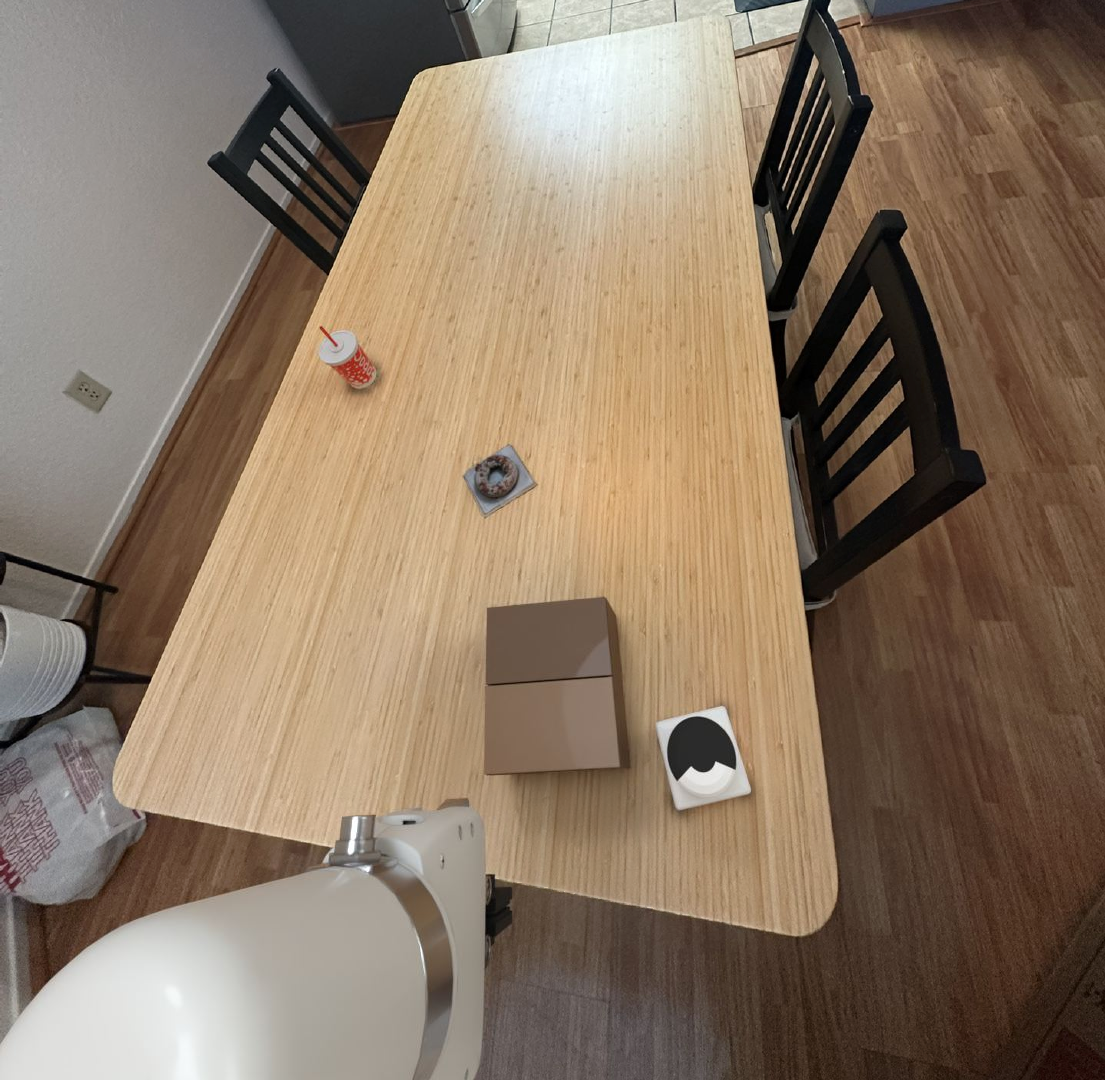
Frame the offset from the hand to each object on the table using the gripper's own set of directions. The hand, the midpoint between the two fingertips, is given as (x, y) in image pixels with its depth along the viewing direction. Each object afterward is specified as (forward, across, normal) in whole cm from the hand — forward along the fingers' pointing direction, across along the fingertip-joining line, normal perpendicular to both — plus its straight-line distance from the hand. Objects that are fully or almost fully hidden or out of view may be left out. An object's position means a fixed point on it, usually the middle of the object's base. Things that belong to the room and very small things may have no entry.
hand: (487, 904), depth 37 cm
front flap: (+21, -10, 0) cm, 23 cm away
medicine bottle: (+31, -7, +14) cm, 35 cm away
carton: (+31, -14, 0) cm, 34 cm away
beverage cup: (+31, -61, -31) cm, 75 cm away
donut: (+31, -40, -8) cm, 52 cm away
